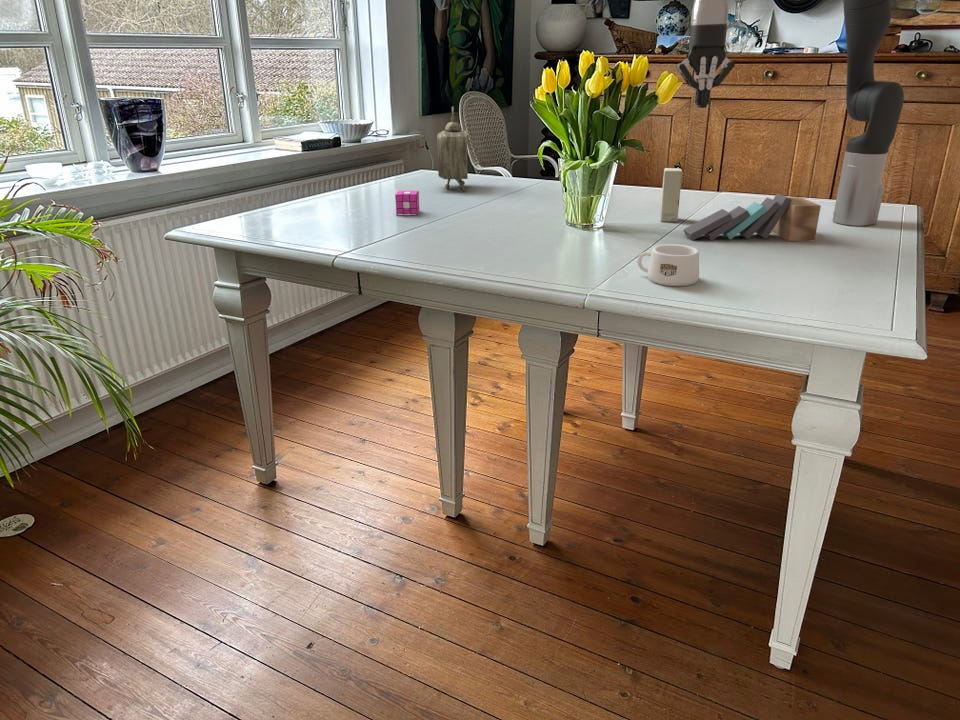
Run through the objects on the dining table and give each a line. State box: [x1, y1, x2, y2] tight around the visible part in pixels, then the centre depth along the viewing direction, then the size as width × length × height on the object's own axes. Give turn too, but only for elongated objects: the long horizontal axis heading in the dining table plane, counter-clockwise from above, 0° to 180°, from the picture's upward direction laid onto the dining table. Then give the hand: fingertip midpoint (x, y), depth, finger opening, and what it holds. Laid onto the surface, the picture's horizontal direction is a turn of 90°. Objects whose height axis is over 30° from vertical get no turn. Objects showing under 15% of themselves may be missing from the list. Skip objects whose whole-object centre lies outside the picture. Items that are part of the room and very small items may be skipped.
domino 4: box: [738, 197, 780, 240], centre depth 166 cm, size 2×5×10 cm
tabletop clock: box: [436, 106, 469, 192], centre depth 223 cm, size 14×9×25 cm, turn 1°
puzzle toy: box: [394, 190, 421, 215], centre depth 195 cm, size 6×6×6 cm
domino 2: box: [703, 205, 750, 241], centre depth 166 cm, size 2×5×10 cm
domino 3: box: [721, 201, 767, 241], centre depth 166 cm, size 2×5×10 cm
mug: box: [637, 243, 700, 287], centre depth 137 cm, size 12×10×6 cm
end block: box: [771, 196, 822, 242], centre depth 167 cm, size 6×10×8 cm, turn 3°
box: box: [659, 167, 683, 223], centre depth 182 cm, size 5×4×13 cm
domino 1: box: [683, 208, 732, 241], centre depth 166 cm, size 2×5×10 cm
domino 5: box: [754, 192, 792, 240], centre depth 166 cm, size 2×5×10 cm, turn 3°
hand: (701, 107), depth 161 cm, fingers closed
